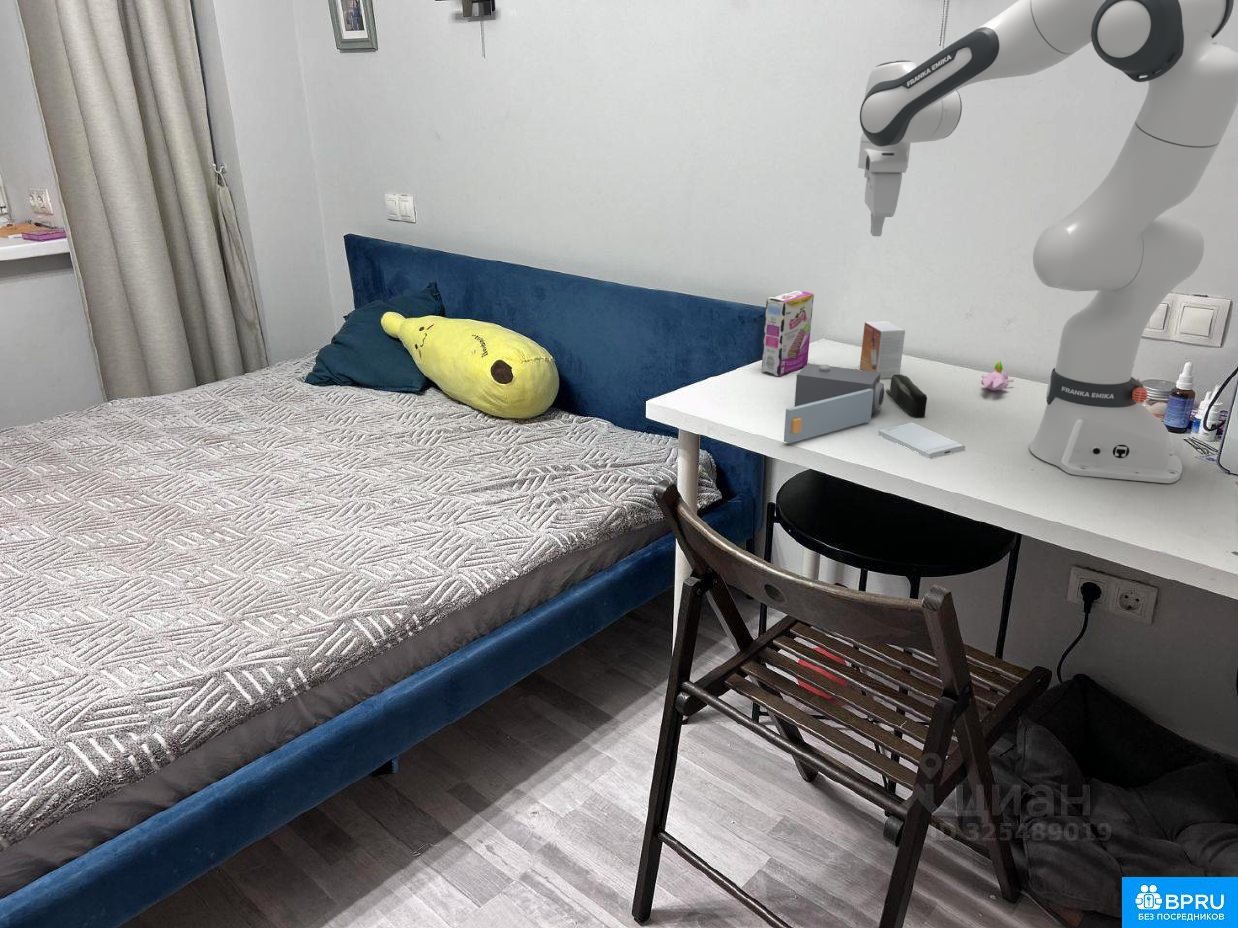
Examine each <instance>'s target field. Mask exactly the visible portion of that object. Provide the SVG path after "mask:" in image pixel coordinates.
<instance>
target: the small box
mask: <svg viewBox="0 0 1238 928" xmlns="http://www.w3.org/2000/svg"><path fill="white" fill-rule="evenodd" d="M862 334H863V335H862V343H861V344H862V345H861V353H860V354H861V355H860V361H859V362H860V363H859V369H860V370H865V371H873V372H881V373H880V380H881V379H882V380H884V379H891V378H892V376H893V375H897V374H900V373H901V368H902V358H903V353H904V352H903V350H904V344H905V343H904V342H905V336H906V335H905V334H906V330H905V329H904V328H901V327H900V326H898V325H896V324H895V323H892V322H890V321H889V320H883V321H882V320H880V321H879V320H878V321H864V327H863V333H862ZM900 375H901V374H900Z"/></svg>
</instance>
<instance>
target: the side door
mask: <svg viewBox="0 0 1238 928" xmlns="http://www.w3.org/2000/svg"><path fill="white" fill-rule="evenodd" d="M873 393H874V390H873V389H865V390H861V391H857V392H853V393H849V394H845V395H841V396H837V397H833V398H829V399H824V400H820V401H816V402H812V403H808V404H804V405H800V406H796V407H794V406H792V407H789V408H785V417H784V418H785V419H784V431H783V434H784V435H783V442H784V443H786V444H789V443H793V442H797V441H800V440H804V439H808V438H811V437H815V436H819V435H823V434H826V433H830V432H831V433H832V432H834V431H839V430H841V429H846V428H849V427H853V426H857V425H861V424H865V423H867V422H871V419H872V415H871V411H872V402H873Z"/></svg>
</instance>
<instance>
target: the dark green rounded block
mask: <svg viewBox="0 0 1238 928" xmlns="http://www.w3.org/2000/svg"><path fill="white" fill-rule="evenodd" d="M890 379H891V380H890V384H889V389H887V388H886V389H885V392H886V393H887V394H888V395H889V396H890V397H892V398H893V400H894V401H895V402H896V403H897V404H898V405H899V406H900V407H901V408H902V409H903V411H904V412H905V413H908V414H907V415H909V416H910V417H912V416H913V418H924V417H925V415H926V410H927V409H926V408H927V401H928V396H927V395H926V394H925V393H924V392H923V391H922V390H921V389H919V387H918V386H916V385H915V384H914V382H913V381H912V380H911V378H910V377H908V376H907V375H903V374H897V375H893V376H892V378H890Z"/></svg>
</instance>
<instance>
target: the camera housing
mask: <svg viewBox="0 0 1238 928" xmlns="http://www.w3.org/2000/svg"><path fill="white" fill-rule="evenodd" d="M880 373H881V372H873V371H865V370H862V369H857V368H848V367H847V368H846V367H839V366H832V365H829V364H815V363H809V362H808V363H807V365H806V366H805V367H803V368H801V370H800V371H799V372H798V373H796V381H795V395H794V406H793V407H796V406H800V405H804V404H808V403H812V402H816V401H820V400H824V399H829V398H833V397H837V396H841V395H845V394H849V393H853V392H857V391H861V390H865V389H873V390H874V393H873V402H872V411H871V416H872V415H873V413H874V412H875V410H876V411H877V410H878V411H879V410H880V409H881V406H882V405H883V402H884V399H885V398H884V397H885V387H884V385H885V384H884V383H883V382H880V381H881V379H880Z"/></svg>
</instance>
